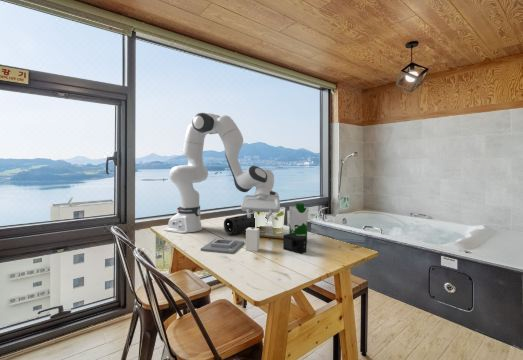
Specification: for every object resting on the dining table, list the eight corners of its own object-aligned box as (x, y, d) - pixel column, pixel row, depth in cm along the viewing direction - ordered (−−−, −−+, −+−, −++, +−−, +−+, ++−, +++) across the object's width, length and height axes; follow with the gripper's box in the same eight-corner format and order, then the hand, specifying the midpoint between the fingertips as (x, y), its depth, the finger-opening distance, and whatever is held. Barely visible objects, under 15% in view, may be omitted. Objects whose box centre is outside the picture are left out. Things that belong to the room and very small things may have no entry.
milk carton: (293, 244, 139) (293, 205, 137) (287, 239, 147) (287, 202, 146) (309, 243, 141) (310, 204, 139) (302, 238, 150) (302, 201, 148)
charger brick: (245, 250, 129) (245, 228, 129) (248, 247, 133) (248, 226, 133) (257, 251, 128) (257, 229, 127) (259, 248, 132) (259, 227, 131)
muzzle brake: (223, 234, 157) (223, 216, 156) (257, 225, 177) (257, 209, 176) (234, 237, 151) (234, 219, 150) (268, 228, 171) (268, 211, 170)
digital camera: (281, 250, 130) (281, 235, 130) (288, 247, 135) (288, 233, 134) (299, 255, 124) (300, 239, 123) (306, 252, 128) (306, 237, 127)
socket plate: (200, 250, 129) (200, 245, 129) (215, 240, 144) (215, 236, 144) (232, 253, 125) (232, 248, 125) (244, 243, 140) (244, 238, 140)
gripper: (242, 191, 147) (236, 213, 138) (280, 192, 141) (276, 215, 133) (245, 198, 151) (239, 220, 143) (282, 200, 146) (278, 222, 137)
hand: (257, 218), depth 138 cm, fingers open, 8 cm apart
